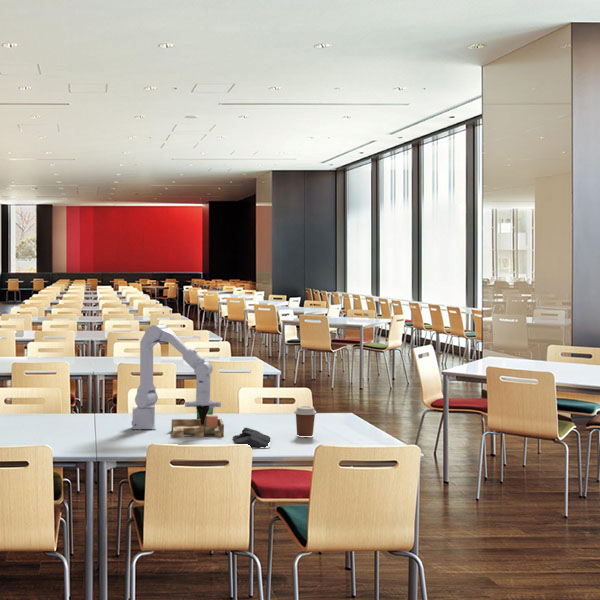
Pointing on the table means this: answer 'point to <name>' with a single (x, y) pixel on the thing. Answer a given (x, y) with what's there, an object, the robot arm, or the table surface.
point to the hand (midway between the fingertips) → (202, 424)
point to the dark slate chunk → (252, 438)
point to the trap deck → (196, 428)
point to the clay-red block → (211, 420)
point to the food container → (207, 413)
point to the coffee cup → (305, 420)
